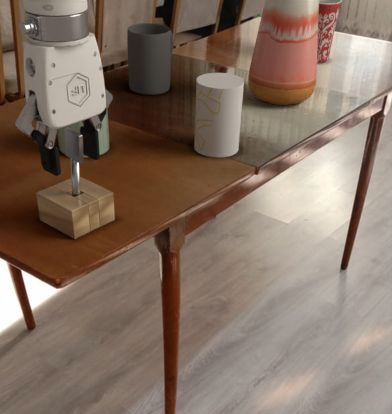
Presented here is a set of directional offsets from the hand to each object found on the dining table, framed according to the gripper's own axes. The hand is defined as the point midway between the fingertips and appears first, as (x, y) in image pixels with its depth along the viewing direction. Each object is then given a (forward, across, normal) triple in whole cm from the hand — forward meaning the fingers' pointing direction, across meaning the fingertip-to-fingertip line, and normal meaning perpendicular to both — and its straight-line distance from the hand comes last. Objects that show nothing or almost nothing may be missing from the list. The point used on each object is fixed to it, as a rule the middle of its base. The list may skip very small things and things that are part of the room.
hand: (71, 163), depth 88 cm
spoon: (+9, 0, 0) cm, 9 cm away
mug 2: (+9, +94, +21) cm, 97 cm away
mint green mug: (+9, +18, +21) cm, 29 cm away
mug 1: (+9, +51, +33) cm, 61 cm away
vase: (+9, +65, +9) cm, 66 cm away
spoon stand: (+9, 0, 0) cm, 9 cm away
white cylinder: (+9, +35, +2) cm, 36 cm away
